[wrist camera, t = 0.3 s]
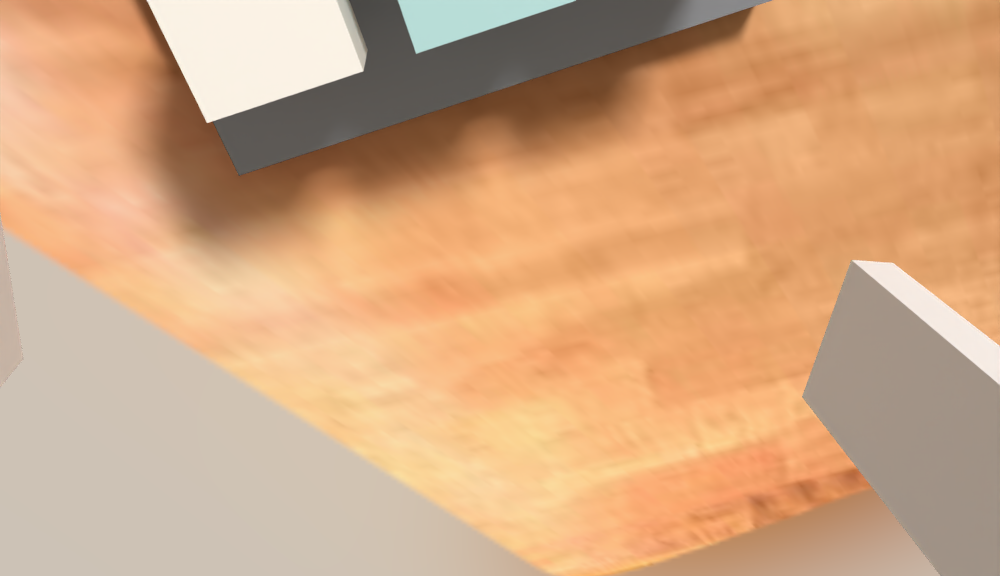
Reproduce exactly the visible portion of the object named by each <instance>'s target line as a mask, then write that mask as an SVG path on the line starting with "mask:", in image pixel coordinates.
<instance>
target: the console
mask: <svg viewBox="0 0 1000 576" xmlns="http://www.w3.org/2000/svg"><path fill="white" fill-rule="evenodd" d="M349 1H350V4H351V6H352V9H353V12H354V14H355V17H356V20H357V23H358V25H359V28H360V31H361V33H362V36H363V39H364V41H365V44H366V47H367V49H368V51H367V56H366V61H365V66H364V71H363V72H360V73H357V74H354V75H351V76H348V77H345V78H342V79H339V80H336V81H332V82H329V83H326V84H323V85H320V86H317V87H314V88H311V89H308V90H305V91H302V92H299V93H296V94H293V95H290V96H287V97H284V98H281V99H278V100H275V101H272V102H269V103H266V104H263V105H260V106H257V107H254V108H251V109H248V110H245V111H242V112H239V113H236V114H233V115H230V116H227V117H224V118H221V119H218V120H215V121H213V123H214V125H215V127H216V129H217V132H218V134H219V136H220V138H221V140H222V142H223V144H224V146H225V148H226V150H227V152H228V154H229V156H230V158H231V160H232V162H233V164H234V166H235V168H236V171H237V173H238V175H239V176H240V175H243V174H246V173H249V172H252V171H255V170H258V169H261V168H264V167H267V166H270V165H273V164H276V163H279V162H282V161H285V160H288V159H291V158H294V157H297V156H300V155H303V154H306V153H309V152H313V151H316V150H319V149H322V148H325V147H328V146H331V145H334V144H337V143H340V142H343V141H346V140H349V139H352V138H355V137H358V136H361V135H364V134H367V133H370V132H373V131H376V130H379V129H382V128H385V127H389V126H392V125H395V124H398V123H401V122H404V121H407V120H410V119H413V118H416V117H419V116H422V115H425V114H428V113H431V112H434V111H437V110H440V109H443V108H446V107H449V106H452V105H455V104H458V103H461V102H465V101H468V100H471V99H474V98H477V97H480V96H483V95H486V94H489V93H492V92H495V91H498V90H501V89H504V88H507V87H510V86H513V85H516V84H519V83H522V82H525V81H528V80H531V79H534V78H538V77H541V76H544V75H547V74H550V73H553V72H556V71H559V70H562V69H565V68H568V67H571V66H574V65H577V64H580V63H583V62H586V61H589V60H592V59H595V58H598V57H601V56H604V55H607V54H610V53H614V52H617V51H620V50H623V49H626V48H629V47H632V46H635V45H638V44H641V43H644V42H647V41H650V40H653V39H656V38H659V37H662V36H665V35H668V34H671V33H674V32H677V31H680V30H683V29H686V28H690V27H693V26H696V25H699V24H702V23H705V22H708V21H711V20H714V19H717V18H720V17H723V16H726V15H729V14H732V13H735V12H738V11H741V10H744V9H747V8H750V7H753V6H756V5H759V4H763V3H766V2H769V1H772V0H576V1H573V2H570V3H567V4H564V5H561V6H558V7H555V8H552V9H549V10H546V11H543V12H540V13H537V14H534V15H531V16H528V17H525V18H522V19H519V20H516V21H513V22H510V23H507V24H504V25H501V26H498V27H495V28H492V29H489V30H486V31H483V32H480V33H477V34H474V35H471V36H468V37H465V38H462V39H459V40H456V41H453V42H450V43H447V44H444V45H441V46H438V47H435V48H432V49H429V50H426V51H423V52H420V53H417V54H416V52H415V49H414V46H413V43H412V40H411V37H410V34H409V32H408V29H407V26H406V23H405V20H404V17H403V14H402V11H401V8H400V5H399V3H398V0H349Z"/></svg>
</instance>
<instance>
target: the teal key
mask: <svg viewBox="0 0 1000 576" xmlns="http://www.w3.org/2000/svg"><path fill="white" fill-rule="evenodd" d="M573 1H576V0H398V3H399V5H400V8H401V11H402V14H403V17H404V20H405V23H406V26H407V29H408V32H409V34H410V37H411V40H412V43H413V46H414V49H415V52H416V54H417V53H420V52H423V51H426V50H429V49H432V48H435V47H438V46H441V45H444V44H447V43H450V42H453V41H456V40H459V39H462V38H465V37H468V36H471V35H474V34H477V33H480V32H483V31H486V30H489V29H492V28H495V27H498V26H501V25H504V24H507V23H510V22H513V21H516V20H519V19H522V18H525V17H528V16H531V15H534V14H537V13H540V12H543V11H546V10H549V9H552V8H555V7H558V6H561V5H564V4H567V3H570V2H573Z"/></svg>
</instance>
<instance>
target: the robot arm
mask: <svg viewBox="0 0 1000 576" xmlns="http://www.w3.org/2000/svg"><path fill="white" fill-rule="evenodd" d="M22 360H23V353H22V347H21V341H20V334H19V328H18V322H17V315H16V309H15V304H14V297H13V290H12V284H11V278H10V272H9V265H8V259H7V253H6V246H5V240H4V234H3V228H2V221H1V215H0V387H1V386H2V384H4V382H5V381H6V380H7V378H8V377H9V376H10V375H11V373H12V372H13V371H14V370H15V369H16V367H17V366H18V365H19V364H20V362H21V361H22ZM802 397H803V399H804V400H805V401H806V403H807V404H808V405H809V406H810V408H811V409H812V410H813V412H814V413H815V414H816V415H817V417H818V418H819V419H820V421H821V422H822V423H823V425H824V426H825V427H826V428H827V430H828V431H829V432H830V434H831V435H832V436H833V437H834V439H835V440H836V441H837V443H838V444H839V445H840V446H841V448H842V449H843V450H844V452H845V453H846V454H847V455H848V457H849V458H850V459H851V461H852V462H853V463H854V465H855V466H856V467H857V468H858V470H859V471H860V472H861V474H862V475H863V476H864V477H865V479H866V480H867V481H868V483H869V484H870V485H871V486H872V488H873V489H874V490H875V492H876V493H877V494H878V495H879V496H880V498H881V499H882V501H883V502H884V503H885V504H886V506H887V507H888V508H889V510H890V511H891V512H892V514H893V515H894V516H895V517H896V519H897V520H898V521H899V523H900V524H901V525H902V526H903V528H904V529H905V530H906V531H907V533H908V534H909V536H910V537H911V538H912V539H913V541H914V542H915V543H916V545H917V546H918V547H919V548H920V550H921V551H922V552H923V554H924V555H925V556H926V557H927V559H928V560H929V561H930V563H931V564H932V565H933V566H934V568H935V569H936V570H937V572H938V573H939V574H940V575H941V576H1000V346H999V345H998V344H996V343H995V342H994V341H993V340H991V339H990V338H989V337H987V336H986V335H985V334H984V333H982V332H981V331H980V330H978V329H977V328H976V327H975V326H973V325H972V324H971V323H969V322H968V321H967V320H966V319H964V318H963V317H962V316H960V315H959V314H958V313H957V312H955V311H954V310H953V309H951V308H950V307H949V306H948V305H946V304H945V303H944V302H942V301H941V300H940V299H939V298H937V297H936V296H935V295H933V294H932V293H931V292H930V291H928V290H927V289H926V288H924V287H923V286H922V285H921V284H919V283H918V282H917V281H915V280H914V279H913V278H912V277H910V276H909V275H908V274H906V273H905V272H904V271H903V270H901V269H900V268H899V267H897V266H896V265H895V264H894V263H885V262H872V261H860V260H851V262H850V265H849V268H848V271H847V273H846V276H845V279H844V282H843V285H842V287H841V290H840V293H839V296H838V298H837V301H836V304H835V307H834V310H833V312H832V315H831V318H830V321H829V324H828V326H827V329H826V332H825V335H824V337H823V340H822V343H821V346H820V349H819V351H818V354H817V357H816V360H815V363H814V365H813V368H812V371H811V374H810V376H809V379H808V382H807V385H806V388H805V390H804V393H803V396H802Z"/></svg>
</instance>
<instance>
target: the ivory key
mask: <svg viewBox="0 0 1000 576" xmlns="http://www.w3.org/2000/svg"><path fill="white" fill-rule="evenodd" d="M147 2H148V4H149V6H150V8H151V10H152V12H153V14H154V16H155V18H156V20H157V22H158V24H159V26H160V28H161V30H162V32H163V34H164V36H165V38H166V40H167V42H168V44H169V46H170V48H171V50H172V52H173V55H174V57H175V59H176V61H177V63H178V65H179V67H180V69H181V71H182V73H183V75H184V77H185V79H186V81H187V83H188V85H189V87H190V89H191V91H192V93H193V95H194V97H195V99H196V101H197V103H198V105H199V107H200V109H201V112H202V114H203V116H204V118H205V120H206V122H207V123H209V122H212V121H215V120H218V119H221V118H224V117H227V116H230V115H233V114H236V113H239V112H242V111H245V110H248V109H251V108H254V107H257V106H260V105H263V104H266V103H269V102H272V101H275V100H278V99H281V98H284V97H287V96H290V95H293V94H296V93H299V92H302V91H305V90H308V89H311V88H314V87H317V86H320V85H323V84H326V83H329V82H332V81H336V80H339V79H342V78H345V77H348V76H351V75H354V74H357V73H360V72H363V71H364V66H365V61H366V56H367V51H368V49H367V47H366V44H365V41H364V39H363V36H362V33H361V31H360V28H359V25H358V23H357V20H356V17H355V14H354V12H353V9H352V6H351V4H350V1H349V0H147Z"/></svg>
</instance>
